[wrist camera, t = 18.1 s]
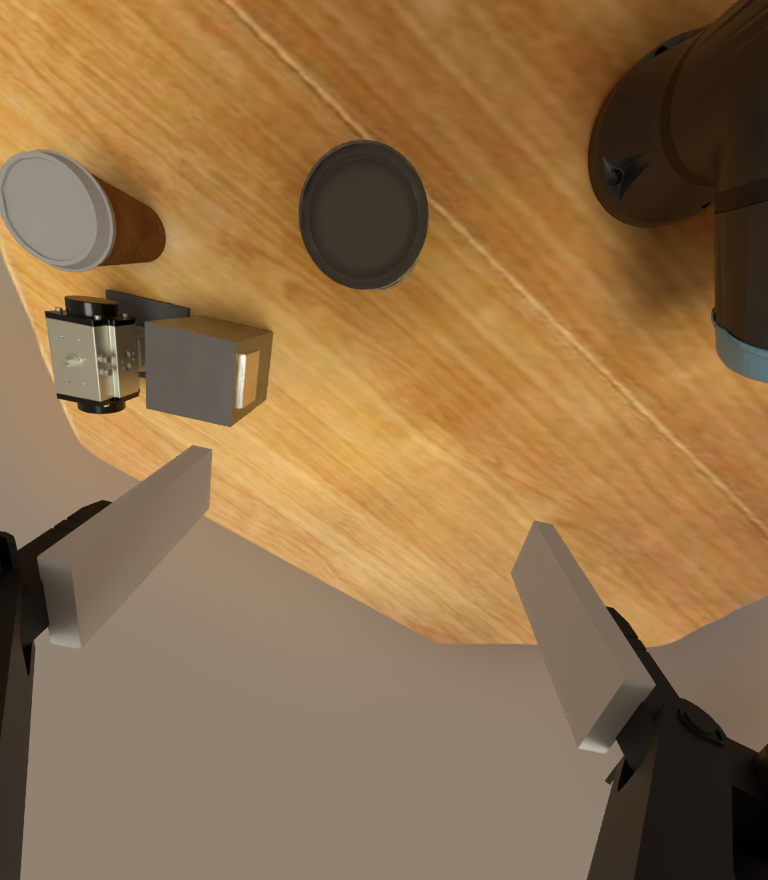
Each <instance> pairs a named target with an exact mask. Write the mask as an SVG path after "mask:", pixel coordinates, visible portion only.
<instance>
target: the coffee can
mask: <svg viewBox="0 0 768 880" xmlns="http://www.w3.org/2000/svg"><path fill="white" fill-rule="evenodd" d="M299 225H300V231H301V235H302V238H303V242H304V244H305V247H306V249H307V251H308V253H309V255H310V256H311V258H312V260H313V261H314V263H315V264H316V265H317V266H318V268H319V269H320V270H321V271H322V272H323V273H324V274H325V275H327V276H328V277H329V278H330V279H332V280H334V281H335V282H337V283H339V284H341V285H344V286H347V287H350V288H354V289H362V290H371V291H381V290H386V289H390V288H392V287H394V286H396V285H398V284H399V283H401V282H402V281H403V280H404V279H405V278H406V277H407V276H408V275H409V274H410V272H411V271H412V269H413V268H414V266H415V264H416V262H417V259H418V256H419V253H420V251H421V249H422V246H423V244H424V241H425V238H426V234H427V228H428V203H427V197H426V193H425V190H424V187H423V184H422V181H421V179H420V177H419V175H418V174H417V172H416V171H415V169H414V167H413V166H412V165H411V164H410V162H409V161H408V160H407V159H406V158H405V157H404V156H403V155H402V154H400V153H399V152H398V151H396V150H395V149H393V148H392V147H390V146H388V145H385V144H383V143H380V142H377V141H371V140H356V141H350V142H346V143H343V144H341V145H339V146H336V147H335V148H333V149H331V150H330V151H329V152H327V153H326V154H325V155H324V156H322V157H321V158H320V159H319V160H318V162H317V163H316V164H315V165H314V167H313V168H312V170H311V171H310V173H309V175H308V177H307V179H306V181H305V183H304V186H303V189H302V192H301V196H300V203H299Z"/></svg>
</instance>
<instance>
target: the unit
mask: <svg viewBox="0 0 768 880" xmlns="http://www.w3.org/2000/svg"><path fill="white" fill-rule="evenodd" d="M272 338H273V332H271V331H267V330H262V329H258V328H254V327H249V326H245V325H241V324H236V323H232V322H228V321H224V320H219V319H215V318H211V317H206V316H192V317H183V318H173V319H164V320H155V321H145V363H146V408H147V409H151V410H156V411H160V412H165V413H169V414H174V415H178V416H183V417H187V418H192V419H196V420H201V421H205V422H210V423H214V424H219V425H223V426H228V427H231V426H233V425H234V424H235V423H236V422H238V421H239V420H240V419H242V418H243V417H244V416H246V415H247V414H248V413H249V412H251V411H252V410H253V409H255V408H256V407H257V406H259V405H260V404H261V403H263V402H264V401H265V400H266V395H267V386H268V376H269V367H270V357H271V348H272Z"/></svg>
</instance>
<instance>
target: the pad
mask: <svg viewBox="0 0 768 880" xmlns="http://www.w3.org/2000/svg"><path fill="white" fill-rule="evenodd" d="M106 299H108V300H112V301H115V302H117V303H118V308H119V314H122V313H126V314H128V316H133V317H136V326H141V327H144V328H145V321H155V320H164V319H173V318H183V317H190V308H186V307H181V306H177V305H173V304H168V303H164V302H160V301H155V300H151V299H147V298H143V297H138V296H134V295H130V294H125V293H121V292H117V291H112V290H106ZM139 376H140V377H144V378H146V371H143V372H139Z"/></svg>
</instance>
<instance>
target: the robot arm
mask: <svg viewBox="0 0 768 880" xmlns="http://www.w3.org/2000/svg"><path fill="white" fill-rule="evenodd" d="M589 172H590V178H591V182H592V186H593V189H594V191H595V194H596V196H597V198H598V200H599V201H600V203H601V204H602V206H603V207H604V208H605V209H606V210H607V211H608V212H609V213H610V214H611V215H612V216H613V217H615V218H616V219H618V220H620V221H622V222H624V223H626V224H629V225H633V226H638V227H656V226H661V225H666V224H669V223H673V222H677V221H680V220H683V219H686V218H688V217H691V216H693V215H695V214H697V213H699V212H701V211H702V210H704V209H706V208H707V207H709V206H710V205H712V204H713V203H715V307H714V308H713V309H712V313H711V320H712V323H713V326H714V328H715V336H716V350H717V354H718V356H719V357H720V358H721V360H722V362H723V363H724V364H725V365H726V366H727V367H728V368H729V369H731V370H732V371H734V372H736V373H738V374H740V375H742V376H744V377H747V378H750V379H753V380H756V381H760V382H764V383H768V0H738V1H737V2H736V3H734V4H733V5H732V6H731V7H730V8H729V9H728V10H727V11H725V12H724V13H723V14H722V15H721V16H720V17H719V18H718V19H716V20H715V21H714V22H713V23H711V24H708V25H705V26H702V27H699V28H696V29H694V30H691V31H688V32H686V33H683V34H680V35H678V36H675V37H673V38H671V39H669V40H667V41H666V42H664V43H662V44H661V45H659V46H658V47H656V48H655V49H653V50H652V51H651V52H649V53H648V54H647V55H646V56H644V57H643V58H642V59H641V60H640V61H639V62H638V63H637V64H636V65H635V66H634V67H633V68H632V69H631V70H630V71H629V72H628V73H627V74H626V75H625V76H624V77H623V78H622V79H621V80H620V81H619V83H618V84H617V85H616V86H615V88H614V89H613V90H612V92H611V93H610V95H609V96H608V98H607V100H606V101H605V103H604V105H603V107H602V109H601V111H600V113H599V115H598V118H597V121H596V123H595V126H594V129H593V133H592V137H591V142H590V149H589ZM211 462H212V449H208V448H203V447H199V446H194V445H192V446H191V447H190V448H188V449H187V450H185V451H184V452H183V453H181V454H180V455H178V456H177V457H176V458H174V459H173V460H171V461H170V462H169V463H167V464H166V465H164V466H163V467H162V468H160V469H159V470H157V471H156V472H155V473H153V474H152V475H150V476H149V477H148V478H146V479H145V480H143V481H142V482H141V483H139V484H138V485H137V486H135V487H134V488H132V489H131V490H129V491H128V492H127V493H125V494H124V495H123V496H121V497H120V498H118V499H117V500H116V501H114V502H109V501H104V500H101V501H99V502H96V503H93V504H91V505H88V506H85V507H83V508H81V509H79V510H78V511H77V512H75V513H74V514H72V515H71V516H69V517H67V520H63V521H62V522H60V523H58V524H57V525H55V526H54V528H53V529H52V528H51V529H50V530H48V531H47V532H45V533H43V534H42V535H40V536H39V537H37V538H36V539H34V540H33V541H32V542H30V543H28V544H27V545H25V546H24V547H22V548H21V549H19V550H18V551H17V547H16V542H15V539H14V536H13V535H11V534H9V533H7V532H2V531H0V880H20V871H21V857H22V842H23V827H24V810H25V796H26V781H27V766H28V751H29V736H30V720H31V705H32V689H33V675H34V660H35V645H34V639H35V638H36V637H37V636H38V635H39V634H40V633H42V632H43V631H44V630H45V629H46V628H47V627H48V629H49V635H50V641H51V643H53V644H58V645H63V646H68V647H73V648H78V649H82V648H83V647H84V645H85V644H86V643H87V642H88V641H89V640H90V639H91V638H92V637H93V636H94V635H95V633H96V632H97V631H98V630H99V629H100V628H101V627H102V626H103V625H104V624H105V622H106V621H107V620H108V619H109V618H110V617H111V616H112V615H113V613H115V611H116V610H117V609H118V608H119V607H120V606H121V605H122V604H123V603H124V601H125V600H126V599H127V598H128V597H129V596H130V595H131V594H132V593H133V592H134V591H135V589H136V588H137V587H138V586H139V585H140V584H141V583H142V582H143V581H144V580H145V578H146V577H147V576H148V575H149V574H150V573H151V572H152V571H153V569H155V567H156V566H157V565H158V564H159V563H160V562H161V561H162V560H163V559H164V557H165V556H166V555H167V554H168V553H169V552H170V551H171V550H172V549H173V547H175V545H176V544H177V543H178V542H179V541H180V540H181V539H182V538H183V537H184V536H185V534H186V533H187V532H188V531H189V530H190V529H191V528H192V527H193V526H194V524H195V523H196V522H197V521H198V520H199V519H200V518H201V517H202V516H203V515H204V513H205V512H206V511H207V510H208V509H209V501H210V482H211ZM511 575H512V577H513V580H514V582H515V585H516V588H517V590H518V593H519V596H520V598H521V601H522V603H523V606H524V609H525V611H526V614H527V616H528V619H529V622H530V624H531V627H532V629H533V632H534V635H535V637H536V640H537V642H538V645H539V647H540V650H541V653H542V655H543V658H544V660H545V663H546V666H547V668H548V671H549V673H550V676H551V679H552V681H553V684H554V687H555V689H556V692H557V694H558V697H559V700H560V702H561V705H562V708H563V710H564V713H565V715H566V718H567V720H568V723H569V726H570V728H571V731H572V734H573V736H574V739H575V741H576V744H577V747H578V748H580V749H585V750H590V751H595V752H600V753H607V751H608V750H609V748H610V747H611V746H612V744H613V743H614V742H615V740H617V742H618V744H619V746H620V748H621V750H622V752H623V754H624V756H623V757H622V759H621V760H620V762H619V763H618V764H617V765H616V767H615V768H614V769H613V771H612V772H611V773H610V775H609V776H608V777H607V779H606V780H605V781H606V782H607V783H608V784H611V782H612V781H613V784H612V788H611V792H610V796H609V799H608V803H607V807H606V810H605V814H604V818H603V821H602V825H601V829H600V833H599V836H598V840H597V844H596V848H595V851H594V855H593V859H592V863H591V866H590V870H589V874H588V878H587V880H768V744H767V745H766V746H765V747H764V748H763V749H762V750H761V751H760V752H759V753H758V752H756V751H754V750H752V749H750V748H748V747H745V746H744V745H741V744H739V743H737V742H735V741H733V740H731V739H729V738H727V736H726V735H725V733H724V732H723V730H722V729H721V727H720V726H719V725H718V724H717V723H716V722H715V721H714V720H713V719H712V718H711V717H710V716H709V715H708V714H707V713H706V712H704V711H703V710H702V709H701V708H699V707H698V706H696V705H695V704H693V703H691V702H689V701H688V700H686V699H682V698H679V696H678V695H677V693H676V692H675V690H674V689H673V688H672V686H671V685H670V683H669V682H668V680H667V679H666V677H665V676H664V674H663V673H662V671H661V670H660V668H659V667H658V666H657V664H656V663H655V661H654V660H653V658H652V657H651V655H650V654H649V653H648V652H646V648H645V646H644V645H643V644H642V642H641V641H640V640H638V636H637V635H636V633H635V632H634V630H633V629H632V627H631V626H630V625H629V623H628V622H627V621H626V620H625V619H624V618H623V617H622V616H621V615H620V614H619V613H618V612H617V611H616V610H615V609H614V608H611V607H606V606H605V605H604V603H603V602H602V600H601V599H600V597H599V596H598V594H597V593H596V591H595V590H594V588H593V586H592V585H591V583H590V582H589V580H588V579H587V577H586V576H585V574H584V572H583V571H582V569H581V568H580V566H579V565H578V563H577V562H576V560H575V559H574V557H573V555H572V554H571V552H570V551H569V549H568V548H567V546H566V545H565V543H564V542H563V540H562V538H561V537H560V535H559V534H558V532H557V531H556V529H555V528H554V526H553V524H548V523H544V522H539V521H535V520H534V522H533V524H532V527H531V529H530V531H529V533H528V536H527V538H526V540H525V542H524V545H523V547H522V549H521V551H520V554H519V556H518V558H517V561H516V563H515V565H514V567H513V570H512V572H511Z"/></svg>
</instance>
